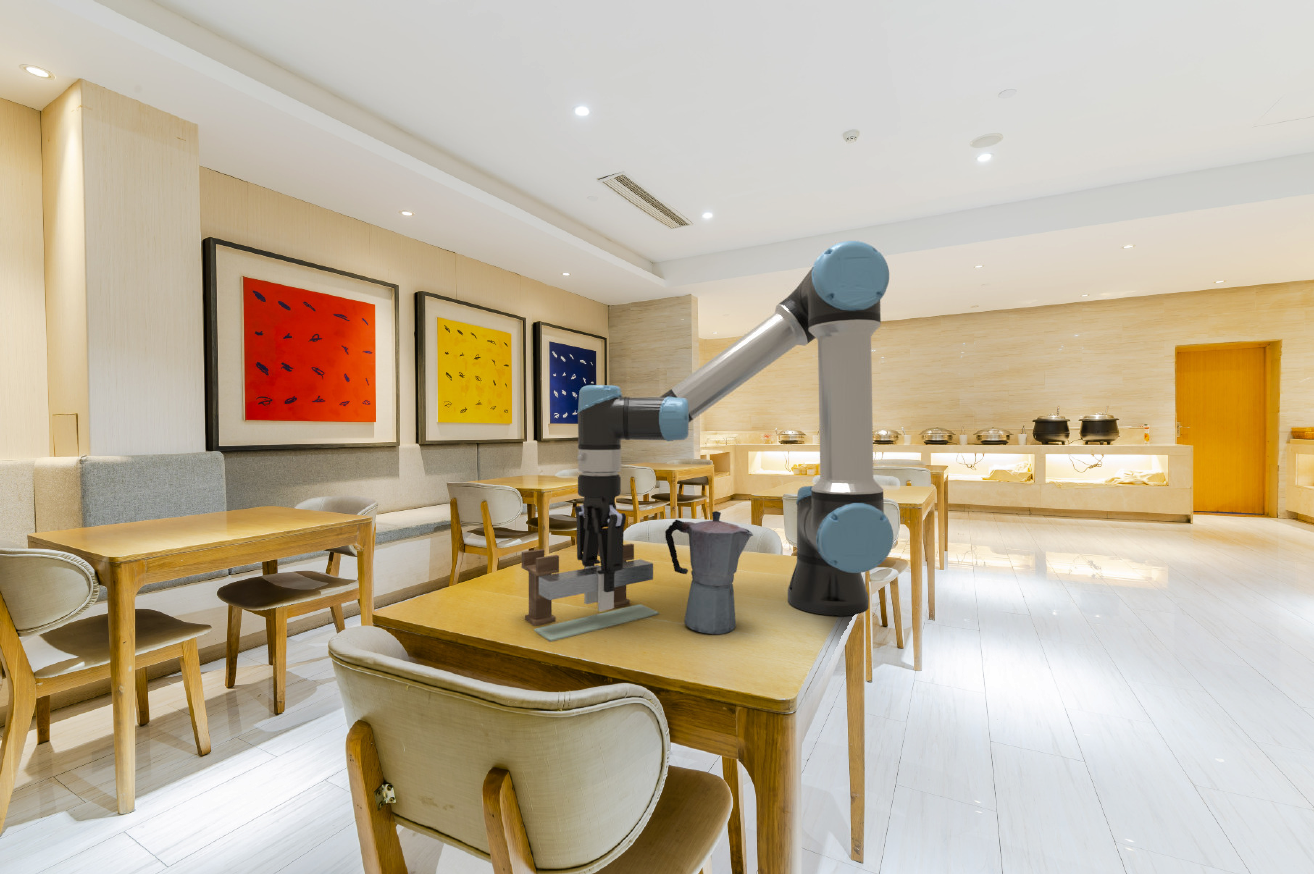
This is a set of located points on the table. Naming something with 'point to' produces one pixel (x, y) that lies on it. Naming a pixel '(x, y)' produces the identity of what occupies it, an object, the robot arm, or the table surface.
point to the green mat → (594, 622)
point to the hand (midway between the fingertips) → (598, 605)
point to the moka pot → (710, 571)
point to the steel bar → (592, 579)
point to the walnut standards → (550, 564)
